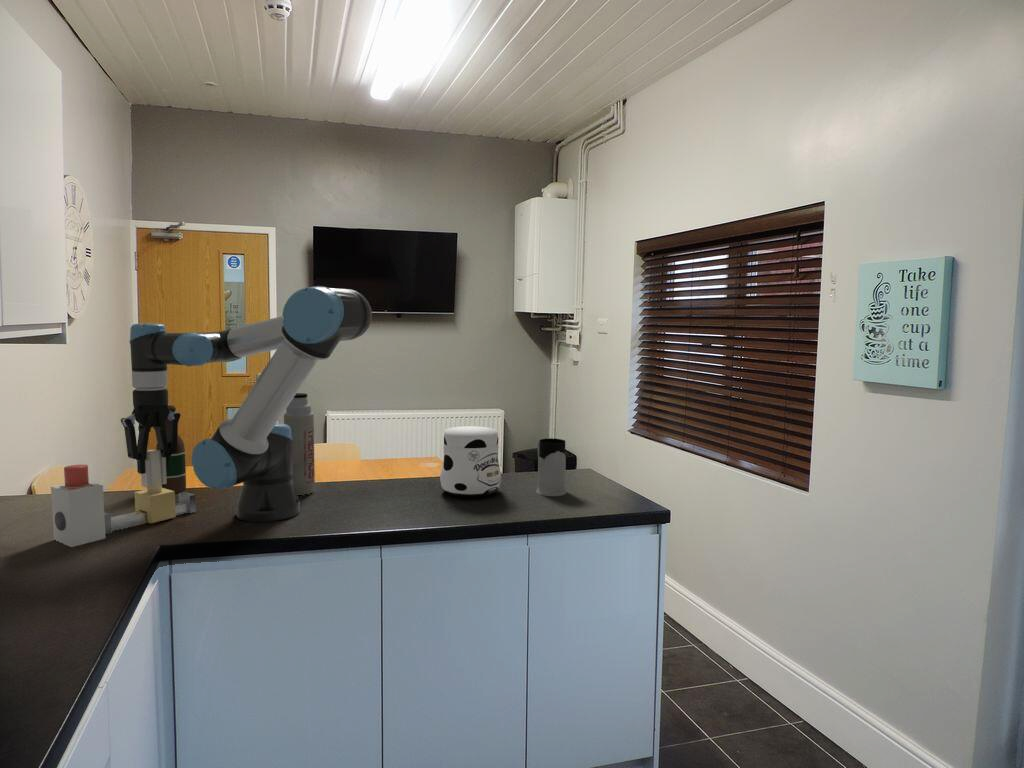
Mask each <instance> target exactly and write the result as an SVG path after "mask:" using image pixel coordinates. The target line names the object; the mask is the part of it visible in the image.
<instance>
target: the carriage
mask: <svg viewBox="0 0 1024 768" xmlns="http://www.w3.org/2000/svg"><path fill="white" fill-rule="evenodd" d="M146 459H147V460H150V485H151V487H148V488H147V487H146V489H142V490H138V491H134V507H135V511H134V512H136V511H141V510H143V511H146V512H147V522H149V524H155V523H158V522H161V521H166V520H169V519H174V518H176V516H175V502H176V495H175V494H176V493H175V491H172V490H168V489H165V488H162V477H161V452H160V450H156V449H149V450H148V449H147V455H146Z"/></svg>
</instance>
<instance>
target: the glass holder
mask: <svg viewBox="0 0 1024 768" xmlns="http://www.w3.org/2000/svg"><path fill="white" fill-rule="evenodd" d="M537 457H538V458H537V460H538V462H537V465H538V467H537V470H538V471H537V489H536V491H535V492H536V494H537V495H540V496H546V497H561V496H565V495H566V494H567V490H566V465H567V463H566V461H567V460H566V459H567V458H566V457H567V456H566V439H561V438H550V437H549V438H541V439H539V440H538V441H537Z"/></svg>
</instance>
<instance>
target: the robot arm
mask: <svg viewBox="0 0 1024 768" xmlns="http://www.w3.org/2000/svg"><path fill="white" fill-rule="evenodd" d="M281 315H282V316H277V317H273V318H269V319H266V320H261V321H257V322H254V323H248V324H245V325H241V326H236V327H233V328H228V329H224V330H221V331H210V332H206V331H205V332H167V329H166V326H165V324H162V323H133V324H132V325H131V326H130V335H129V337H130V338H129V345H130V361H131V362H130V363H131V383H132V384H131V385H132V386H131V387H132V388H134V389H133V391H132V405H133V410H132V412H131V414H130V415H129V416H126V417H122V418H121V419H120V423H121V425H122V426H123V428H124V436H125V442H126V450H127V451H126V452H127V457H128V458H129V459H132V460H136V469H137V471H136V472H137V473H138V474H140V477H141V479H140V481H141V487H145V488H146V489H147V488H148V487H151V485H150V460H147V459H146V455H147V451H148V447H149V439H150V438H149V437H150V432H151V430H152V429H153V430H154V433H155V438H156V442H157V443H158V447H159V450H160V452H161V477H162V484H167V479H166V469H169V457H171V455H172V453H176V451H177V434H178V432H179V421H180V418H181V413H180V412H176V411H175V412H172V411H170V409H169V407H168V406H169V389H167V387H168V386H169V383H168V382H169V381H168V365H173V366H174V365H176V366H177V365H178V366H186V367H196V366H198V367H199V366H203V365H205V364H212V363H222V362H223V363H228V362H234V361H238V360H239V361H240V360H241V359H242V358H244V357H250V356H253V355H259V354H263V353H266V352H267V353H268V352H271V351H274V353H273V355H272V356H271V358H270V360H269V361H268V362H267V364H266V365H265V367H264V368H263V370H262V372H261V373H260V375H259V377H258V378H257V380H256V381H255V382H254V384H253V386H252V388H251V389H250V390H249V392H248V394H247V395H246V397H245V398H244V400H243V401H242V403H241V404H240V406H239V408H238V409H237V411H236V413H235V414H234V416H233V417H232V418H227V419H225V420H223V421H221V423H220V424H219V426H218V427H217V429H216V430H215V432H214V434H213V435H212V436H211V437H210V438H205V439H203V440H201V441H199V442H198V443H197V444H196V445H195V446H194V447H193V449H192V452H191V465H192V467H193V473H194V475H195V476H196V478H197V479H198V481H199V482H200V483H202V484H203V486H205V487H207V488H209V489H212V490H222V489H223V490H224V489H230V488H232V487H234V486H237V485H239V484H242V488H241V492H240V494H239V499H238V501H237V504H236V514H235V515H236V518H238V519H239V520H241V521H242V520H243V521H245V522H255V523H259V522H260V523H264V522H275V521H280V520H286V519H288V518H289V519H290V518H292V517H294V516H297V515H298V514H300V512H301V501H300V500H299V496H297V493H296V490H295V487H294V485H293V481H292V436H291V428H290V427H289V426H288V425H286V424H284V423H278V421H279V420H280V419H281V417H282V416H283V415H284V414H285V413H284V412H285V411H286V408H287V407H288V405H289V404H290V402H291V401H292V399H293V398H294V396H295V395H296V393H299V390H300V388H301V387H302V385H303V384H304V383H305V381H306V379H307V378H308V376H309V375H310V374H311V373H312V371H313V369H314V368H315V366H316V364H317V363H318V361H322V360H323V361H324V360H328V358H330V356H331V354H332V353H333V352H334V350H335V349H336V348H337V346H338V345H339V343H340V342H343V341H350V340H351V341H352V340H355V339H358V338H360V337H362V336H363V335H364V334H365V333H366V332H368V329H369V328H370V326H371V323H372V318H373V310H372V307H371V305H370V303H369V301H368V300H367V298H366V297H365V296H364V295H363V294H362V293H360V292H358V291H357V290H354V289H350V288H335V287H334V288H333V287H327V286H322V285H316V286H308V287H303V288H301V289H299V290H297V291H295V292H293V293H292V294H291V295H290V296H289V298H288V299H287V300H286V302H285V304H284V306H283V309H282V314H281ZM166 418H168V419H169V420H168V433H167V437H166V432H165V429H166V427H165V422H164V421H165V420H166ZM135 421H136V422H137V424H138V428H137V429H138V434H137V435H138V436H137V435H136V427H135V425H136V423H135ZM178 435H179V434H178ZM157 443H156V444H157Z"/></svg>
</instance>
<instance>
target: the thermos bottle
mask: <svg viewBox="0 0 1024 768" xmlns="http://www.w3.org/2000/svg"><path fill="white" fill-rule="evenodd" d="M285 411H286V412H285V413H283V424H286V425H288V426H289V427H290V428H291V436H292V481H293V485H294V487H295V490H296V493H297V495H302V496H306V495H305V494H308V495H311V494H310V493H312V494H314V493H315V492H316V485H315V484H316V483H315V482H316V480H315V474H316V473H315V470H316V469H315V468H316V467H315V419H314V417H315V414H314V412H312V406H311V404H310V403H308V393H303V392H301V393H299V392H297V393H296V395H295V396H294V398H293V399H292V401H291V402H290V404H289V405H288V407H287V408H286V410H285ZM313 492H314V493H313Z"/></svg>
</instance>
